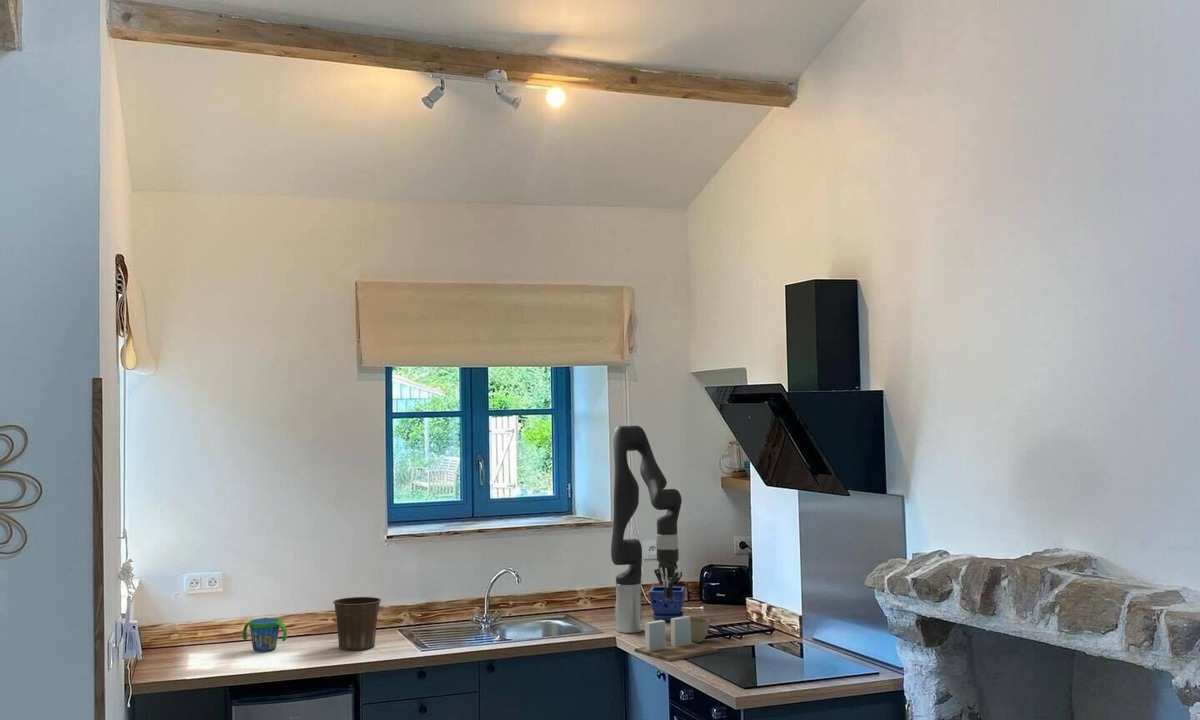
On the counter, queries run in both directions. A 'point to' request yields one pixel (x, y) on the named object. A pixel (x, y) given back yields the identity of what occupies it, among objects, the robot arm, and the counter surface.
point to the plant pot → (357, 622)
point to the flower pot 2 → (698, 629)
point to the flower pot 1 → (666, 603)
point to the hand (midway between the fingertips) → (668, 598)
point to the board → (678, 651)
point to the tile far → (680, 631)
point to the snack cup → (264, 633)
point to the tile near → (655, 635)
